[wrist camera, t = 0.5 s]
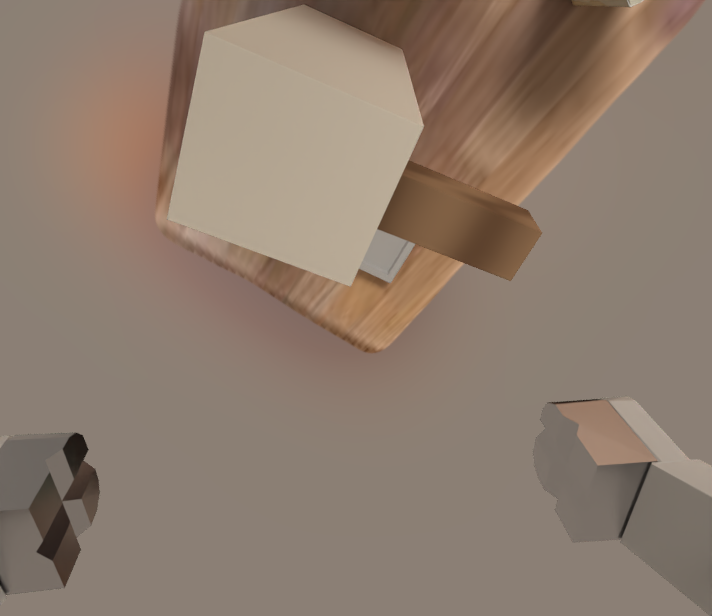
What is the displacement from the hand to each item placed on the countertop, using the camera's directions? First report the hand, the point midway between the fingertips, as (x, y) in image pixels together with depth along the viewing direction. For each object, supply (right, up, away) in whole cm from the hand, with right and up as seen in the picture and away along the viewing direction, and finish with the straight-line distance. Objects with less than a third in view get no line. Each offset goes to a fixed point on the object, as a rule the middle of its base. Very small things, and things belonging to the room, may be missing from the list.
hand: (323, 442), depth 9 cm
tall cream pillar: (-1, +25, +41) cm, 48 cm away
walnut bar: (+2, +10, +20) cm, 22 cm away
